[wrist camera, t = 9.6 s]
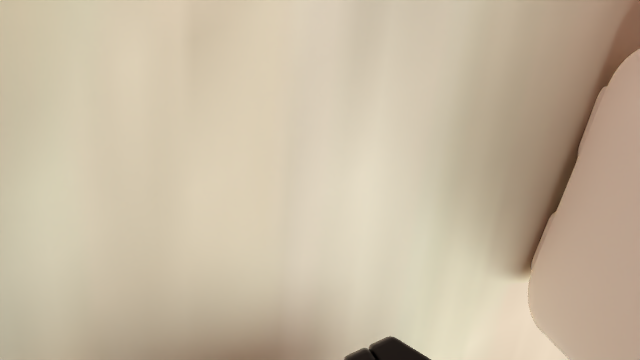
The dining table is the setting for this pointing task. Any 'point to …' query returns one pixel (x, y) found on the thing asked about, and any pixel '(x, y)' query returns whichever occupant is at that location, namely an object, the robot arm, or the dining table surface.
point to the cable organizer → (596, 236)
